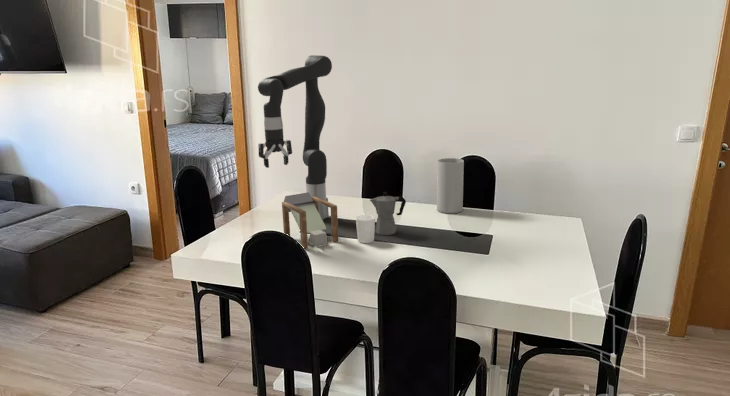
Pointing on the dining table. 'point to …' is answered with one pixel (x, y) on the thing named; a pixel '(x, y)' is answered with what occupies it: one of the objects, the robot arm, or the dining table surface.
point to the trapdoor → (307, 205)
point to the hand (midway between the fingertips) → (276, 166)
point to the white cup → (365, 228)
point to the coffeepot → (386, 213)
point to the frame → (304, 223)
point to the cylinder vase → (450, 185)
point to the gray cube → (318, 238)
